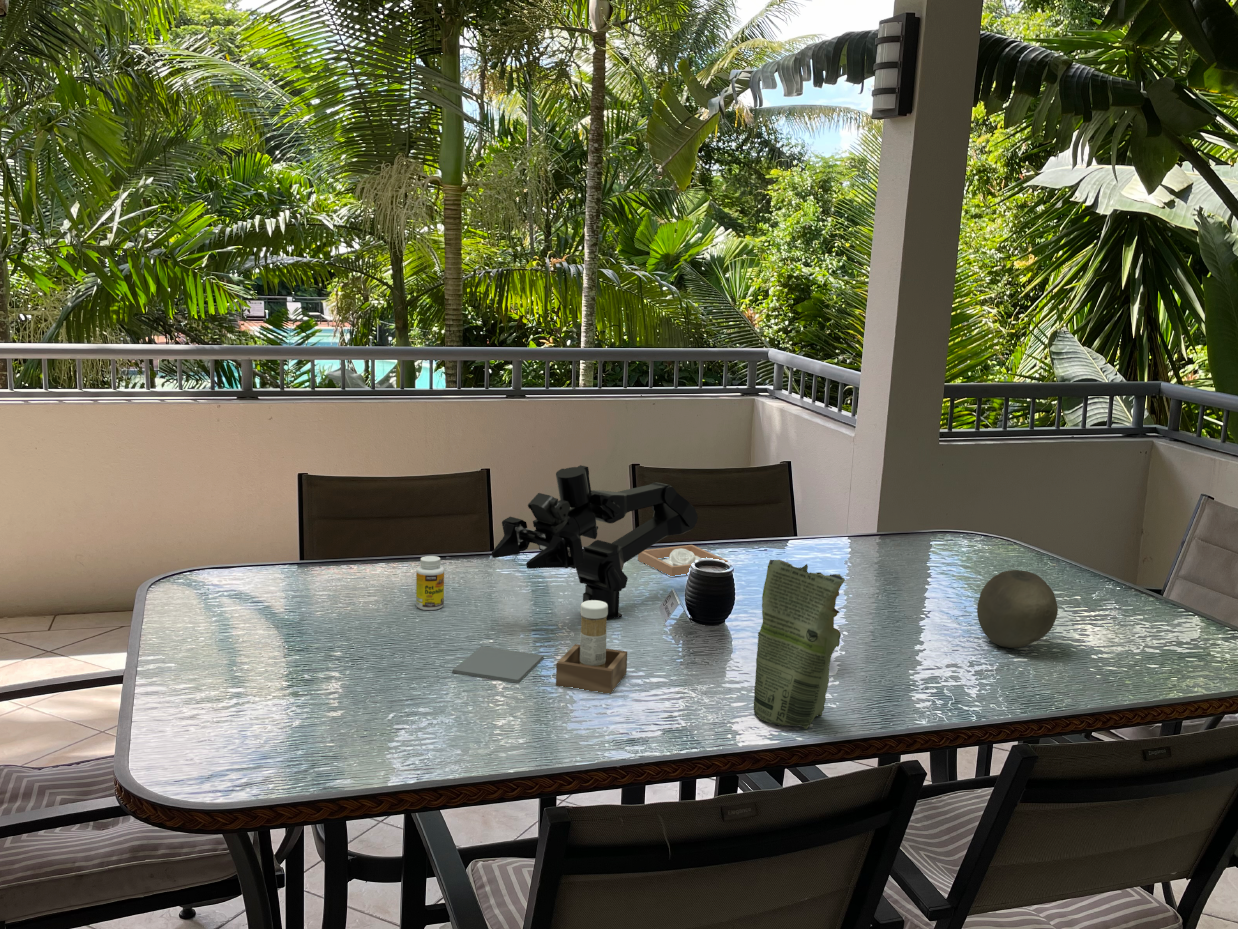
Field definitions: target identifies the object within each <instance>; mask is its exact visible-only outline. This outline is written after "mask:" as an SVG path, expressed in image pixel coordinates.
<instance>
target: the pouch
mask: <svg viewBox="0 0 1238 929" xmlns="http://www.w3.org/2000/svg"><path fill="white" fill-rule="evenodd" d="M808 568H809V566H808V563H806V564H804V565H803V566H802V567H801V566H800V567H797V566H794V565H793V564H792V563H790V562H788V561H787V562H786V561H784V560H781V559H769V561H768V564H767V570H766V576H765V581H764V585H763V589H762V590H763V591H762V596H761V604H762V605H761V609H762V610H761V611H762V612H761V613H762V614H761V615H762V623H761V627H760V630H759V631H758V632H757V651H756V652H757V653H756V658H755V660H756V661H755V664H756V668H755V679H754V680H755V681H754V686H753V688H754V693H753V694H754V695H753V696H754V697H753V712H754V714H755V715H756V716H757V717H759V719H760V720H762V721H763V722H765V723H766V722H767V723H770V724H774V725H778V726H795V727H802V728H803V729H804V730H805V729H806V730H808V728H809V727H810V726H811V724H812V722H813V721H814V719H815V718H816V717H822V716H823V712H824V711H825V703H826V701H827V700H826V699H827V698H826V697H827V696H826V694H827V691H828V688H829V682H830V676H829V675H830V665H831V664H830V663H831V658H832V655H833V653H834V651H835V650H836V648H838V647H839V646H840V642H841V641H840V639H841V636H842V634H841V632H840V630H839V629H838V628H836V627H835V626H834V625H835V623H834V622H835V618H836V617H837V616H838V614H840V611H839V610H838V609H836V608H835V607H836V603H837V599H838V598H837V597H839V596H840V589H841V587H842V585H843V584H844V582H845V581H846V578H844V577H843V576H842V575H841V574H840V573H839V574H838V573H834V574H831V573H830V574H829V575H827V574H826V575H825V574H823V573H822V572H820V571H819V572H808ZM817 715H818V716H817Z"/></svg>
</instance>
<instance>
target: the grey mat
mask: <svg viewBox="0 0 1238 929" xmlns="http://www.w3.org/2000/svg"><path fill="white" fill-rule="evenodd" d="M544 658H545V657H544V654H539V653H538V654H537V653H532V652H522V651H517V650H510V649H503V648H498V647H490V646H489V647H488V646H485V645H484V646H483V645H481V646H480V647H478V648H477V649H476V650H475V651H473V653H471V654H470V655H469V656H467V657H466V658H465V659H463V661H462V662H460V663H459V664H457V665H455V667H454V668H453V669H452V670H451V671H452V674H458V675H462V676H463V675H464V676H469V677H470V676H471V677H475V678H476V677H477V678H483V679H490V680H494V681H503V682H508V683H509V682H510V683H513V684H514V683H515V684H519V683H520V682H521V681H522V680H524V678H525V677H526V676H528V674H529V673H531V672H532V671H533V669H534V668H535V667H537V665H539V664H540V663H541V662H542V661H543V660H544Z"/></svg>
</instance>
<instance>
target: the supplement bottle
mask: <svg viewBox="0 0 1238 929" xmlns="http://www.w3.org/2000/svg"><path fill="white" fill-rule="evenodd" d="M441 564H442V563H441V557H439V556H437V555H426V556H423V557H420V563H419V566H418V567H417V568H416V575H415V576H416V578H415V579H416V580H415V582H416V586H415V588H416V589H415V591H416V592H415V594H416V595H415V596H416V597H415V598H416V601H415V605H416V607H417V608H418V609H420V610H422V611H423V610H424V611H435V610H440V609H441V608H443V607H444V602H445V595H444V594H445V568H444V567H443V566H441Z"/></svg>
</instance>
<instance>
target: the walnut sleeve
mask: <svg viewBox="0 0 1238 929" xmlns="http://www.w3.org/2000/svg"><path fill="white" fill-rule="evenodd" d="M555 664H556V666H555V667H556V668H555V669H556V670H555V671H556V672H555V673H556V674H555V687H560V686H563V687H562V688H566V687H573V688H579V689H584V690H583V691H586V690H589V691H588V692H592V691H598V692H597V693H599V692H603V693H602V694H605V693H610V694H609V695H612V693H613V692H614V690H615V689H616V688H617V687H618V685H619V684H620V683H621V681H623V679H624V677H626V675H627V674H626V673H627V672H628V651H627V650H620V649H612V648H606V662H605V668H603V667H596V666H590V665H583V664H580V644H577V643H575V644H574V645H572V646H571V648H570V649H569V650H568V651H567V652H565V654H564V655H562V657H561V658H560V659H559V660H558V661H557V662H556V663H555ZM619 682H620V683H619ZM618 683H619V684H618ZM617 684H618V685H617ZM616 686H617V687H616ZM615 687H616V688H615ZM573 688H572V689H573ZM614 688H615V689H614ZM579 689H578V690H579ZM613 689H614V690H613ZM612 691H613V692H612ZM611 692H612V693H611Z"/></svg>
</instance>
